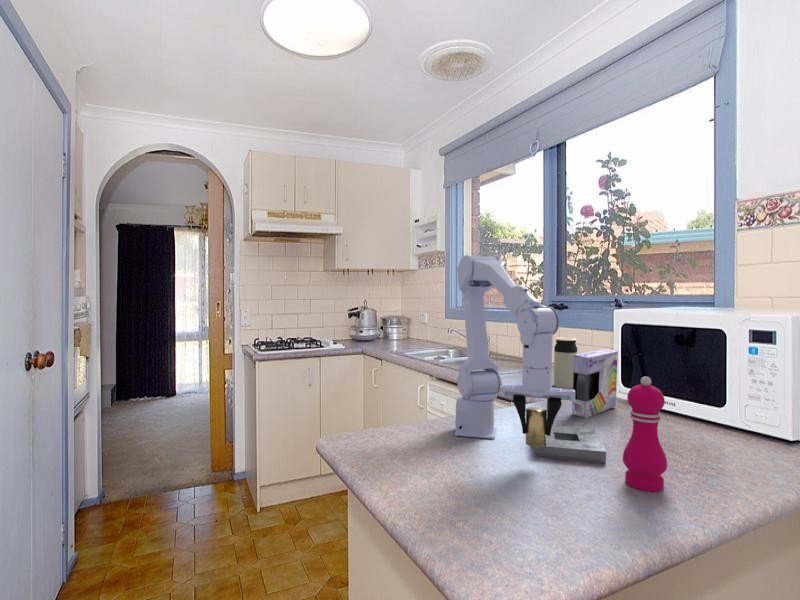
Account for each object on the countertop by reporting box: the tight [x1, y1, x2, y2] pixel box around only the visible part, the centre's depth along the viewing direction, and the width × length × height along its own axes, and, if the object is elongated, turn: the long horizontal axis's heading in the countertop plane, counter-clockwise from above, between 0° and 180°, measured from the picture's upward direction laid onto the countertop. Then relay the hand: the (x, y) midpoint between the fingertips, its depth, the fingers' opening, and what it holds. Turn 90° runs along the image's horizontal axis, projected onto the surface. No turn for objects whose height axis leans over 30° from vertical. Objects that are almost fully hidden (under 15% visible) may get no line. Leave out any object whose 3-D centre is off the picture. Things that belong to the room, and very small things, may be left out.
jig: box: [533, 425, 607, 465], centre depth 103 cm, size 14×16×2 cm
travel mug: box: [553, 336, 578, 390], centre depth 168 cm, size 8×8×18 cm
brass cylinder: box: [525, 406, 547, 448], centre depth 92 cm, size 4×4×7 cm
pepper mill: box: [622, 376, 668, 492], centre depth 84 cm, size 7×7×20 cm
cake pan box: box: [571, 348, 619, 419], centre depth 134 cm, size 19×5×18 cm, turn 129°
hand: (536, 433), depth 93 cm, fingers closed on brass cylinder, 4 cm apart
